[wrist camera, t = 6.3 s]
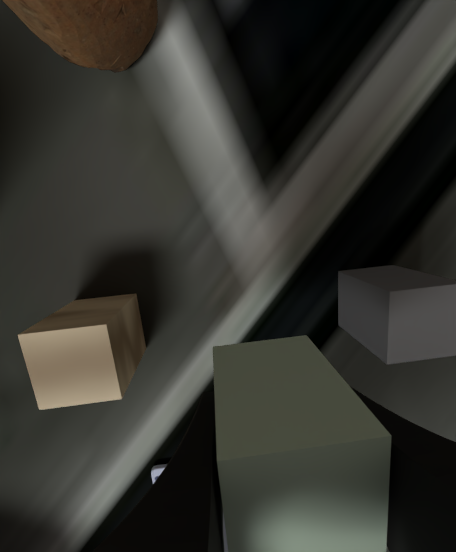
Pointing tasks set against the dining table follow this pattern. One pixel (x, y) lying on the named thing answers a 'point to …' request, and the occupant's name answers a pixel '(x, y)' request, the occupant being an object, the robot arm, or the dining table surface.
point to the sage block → (297, 452)
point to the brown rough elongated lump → (91, 29)
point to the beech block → (84, 351)
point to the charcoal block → (398, 312)
